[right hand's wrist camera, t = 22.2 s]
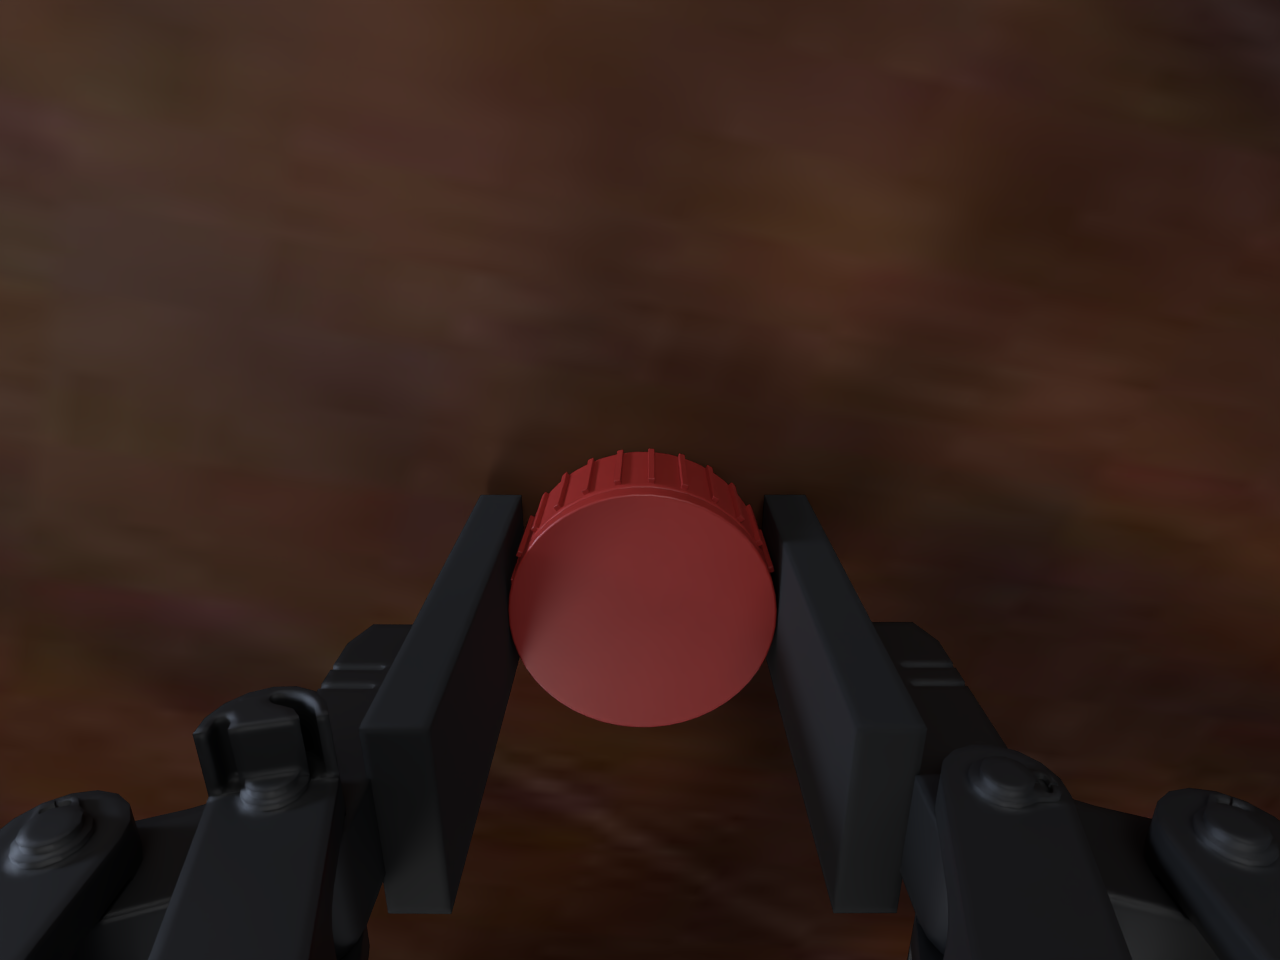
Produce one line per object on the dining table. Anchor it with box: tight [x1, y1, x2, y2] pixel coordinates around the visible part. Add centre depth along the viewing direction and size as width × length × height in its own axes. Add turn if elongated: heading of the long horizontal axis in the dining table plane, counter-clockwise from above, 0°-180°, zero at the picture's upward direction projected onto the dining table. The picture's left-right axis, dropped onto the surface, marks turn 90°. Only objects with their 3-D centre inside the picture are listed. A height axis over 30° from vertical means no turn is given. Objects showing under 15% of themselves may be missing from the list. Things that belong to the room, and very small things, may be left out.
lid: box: [508, 449, 777, 727], centre depth 14 cm, size 5×5×2 cm
